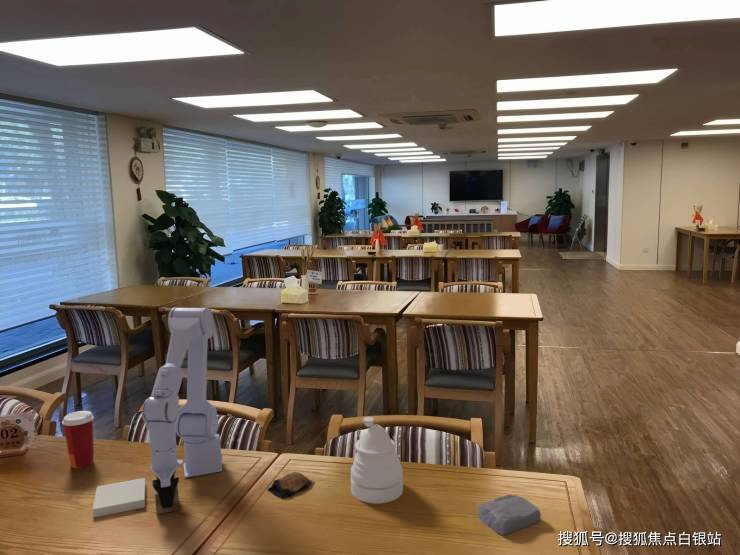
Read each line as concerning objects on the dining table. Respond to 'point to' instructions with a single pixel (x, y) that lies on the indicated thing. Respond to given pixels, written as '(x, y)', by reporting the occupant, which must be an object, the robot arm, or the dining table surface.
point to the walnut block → (174, 508)
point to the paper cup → (79, 438)
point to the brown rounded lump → (290, 485)
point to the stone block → (508, 514)
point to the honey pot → (376, 467)
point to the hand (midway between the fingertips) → (167, 501)
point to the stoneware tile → (119, 497)
